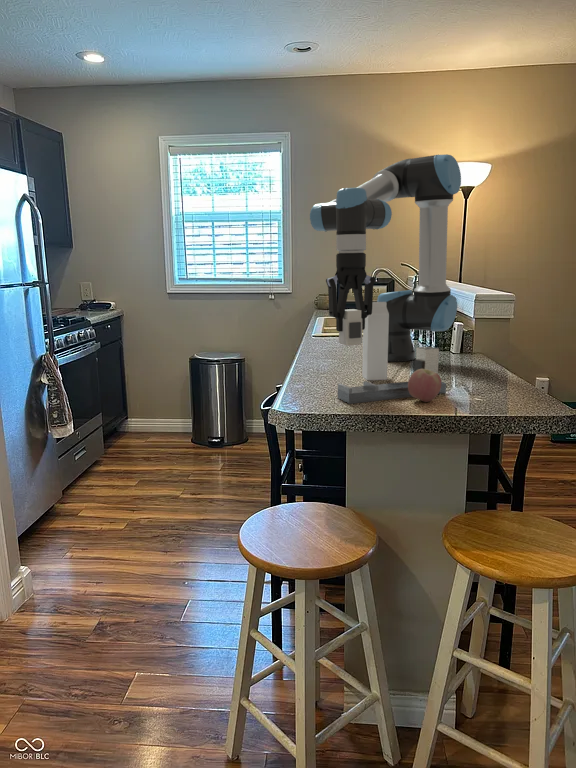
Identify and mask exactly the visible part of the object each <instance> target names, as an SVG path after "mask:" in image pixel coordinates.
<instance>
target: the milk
mask: <svg viewBox="0 0 576 768" xmlns="http://www.w3.org/2000/svg"><path fill="white" fill-rule="evenodd" d="M386 305H387V303H386V302H377V301H373V302H372V314H371V315H368V316H367V318H365V329H364V330H362V366H361V367H362V369H361V370H362V371H361V372H362V376H361V377H362V378H363V379H364V380H366V381H386V380H387V381H388V362H389V361H388V330H389V313H388V310H387V307H386Z"/></svg>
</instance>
